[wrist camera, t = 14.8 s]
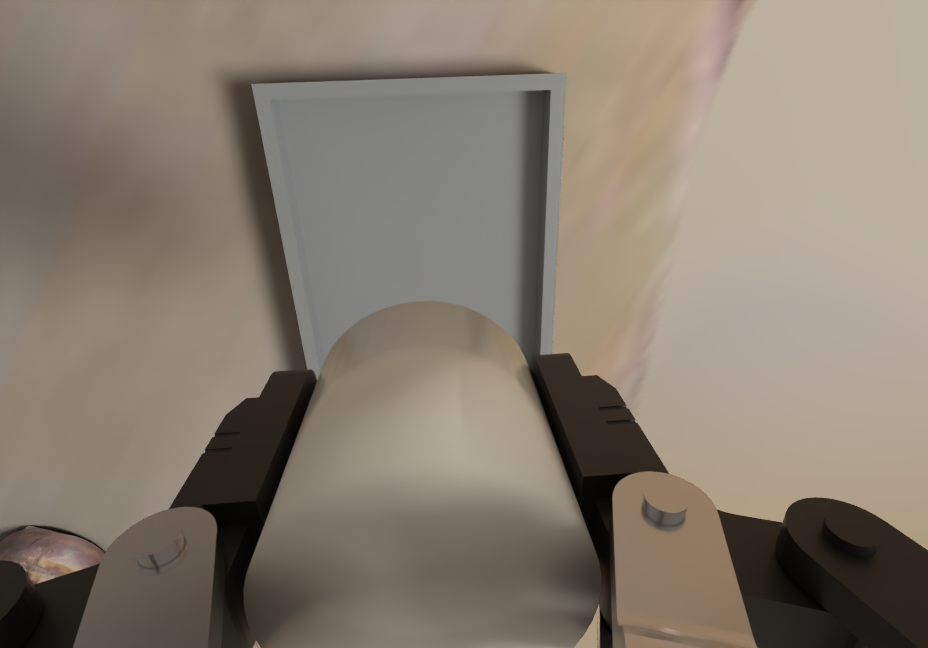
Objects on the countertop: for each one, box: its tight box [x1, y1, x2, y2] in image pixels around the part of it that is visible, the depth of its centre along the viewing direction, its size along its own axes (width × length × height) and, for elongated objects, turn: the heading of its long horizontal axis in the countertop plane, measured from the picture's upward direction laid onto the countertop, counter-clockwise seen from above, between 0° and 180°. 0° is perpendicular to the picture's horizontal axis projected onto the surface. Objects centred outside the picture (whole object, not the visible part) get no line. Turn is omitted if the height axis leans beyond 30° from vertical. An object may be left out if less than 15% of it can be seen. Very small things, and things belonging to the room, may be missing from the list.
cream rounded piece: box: [243, 301, 602, 648], centre depth 8 cm, size 4×4×5 cm
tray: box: [251, 73, 566, 380], centre depth 24 cm, size 15×12×2 cm
